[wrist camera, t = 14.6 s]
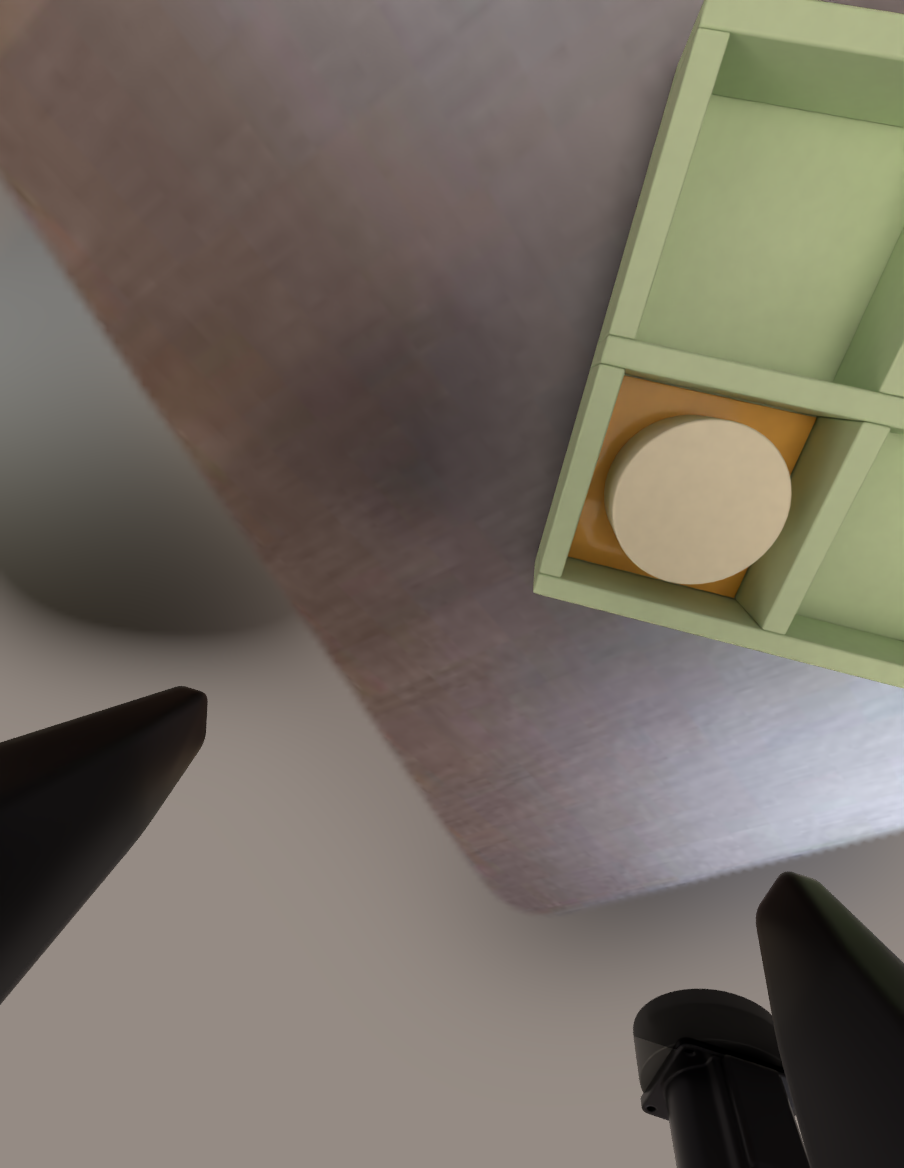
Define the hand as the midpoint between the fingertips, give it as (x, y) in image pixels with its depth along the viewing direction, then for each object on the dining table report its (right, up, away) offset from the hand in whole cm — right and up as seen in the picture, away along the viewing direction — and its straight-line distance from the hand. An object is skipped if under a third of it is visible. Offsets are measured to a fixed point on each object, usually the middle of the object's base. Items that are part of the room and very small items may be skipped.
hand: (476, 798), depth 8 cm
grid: (+11, +9, +8) cm, 16 cm away
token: (+7, +6, +9) cm, 13 cm away
